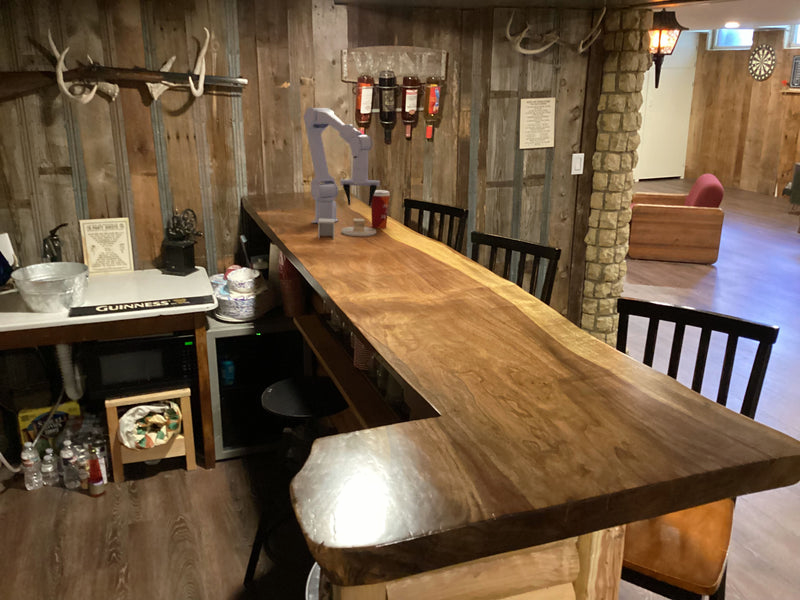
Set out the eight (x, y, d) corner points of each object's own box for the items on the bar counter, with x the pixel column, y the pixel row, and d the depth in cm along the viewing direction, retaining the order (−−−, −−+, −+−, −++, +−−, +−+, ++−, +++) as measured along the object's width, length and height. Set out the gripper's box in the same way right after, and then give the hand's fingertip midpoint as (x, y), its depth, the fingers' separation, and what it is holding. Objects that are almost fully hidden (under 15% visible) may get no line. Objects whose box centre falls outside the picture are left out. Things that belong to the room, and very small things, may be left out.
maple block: (353, 229, 262) (353, 218, 261) (364, 229, 262) (364, 218, 261) (353, 231, 258) (353, 220, 257) (364, 231, 259) (364, 220, 257)
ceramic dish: (348, 227, 269) (348, 225, 268) (380, 231, 265) (380, 228, 265) (336, 234, 257) (336, 231, 256) (369, 237, 253) (369, 235, 253)
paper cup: (388, 229, 269) (389, 193, 265) (368, 228, 269) (369, 192, 265) (389, 225, 277) (390, 190, 273) (370, 224, 277) (371, 189, 273)
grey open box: (319, 235, 254) (319, 218, 252) (334, 235, 254) (334, 218, 253) (318, 238, 249) (318, 221, 247) (333, 239, 249) (334, 221, 247)
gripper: (340, 169, 253) (339, 206, 257) (380, 170, 253) (379, 207, 258) (340, 166, 259) (340, 203, 263) (379, 168, 260) (378, 204, 264)
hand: (359, 205), depth 261 cm, fingers open, 7 cm apart
